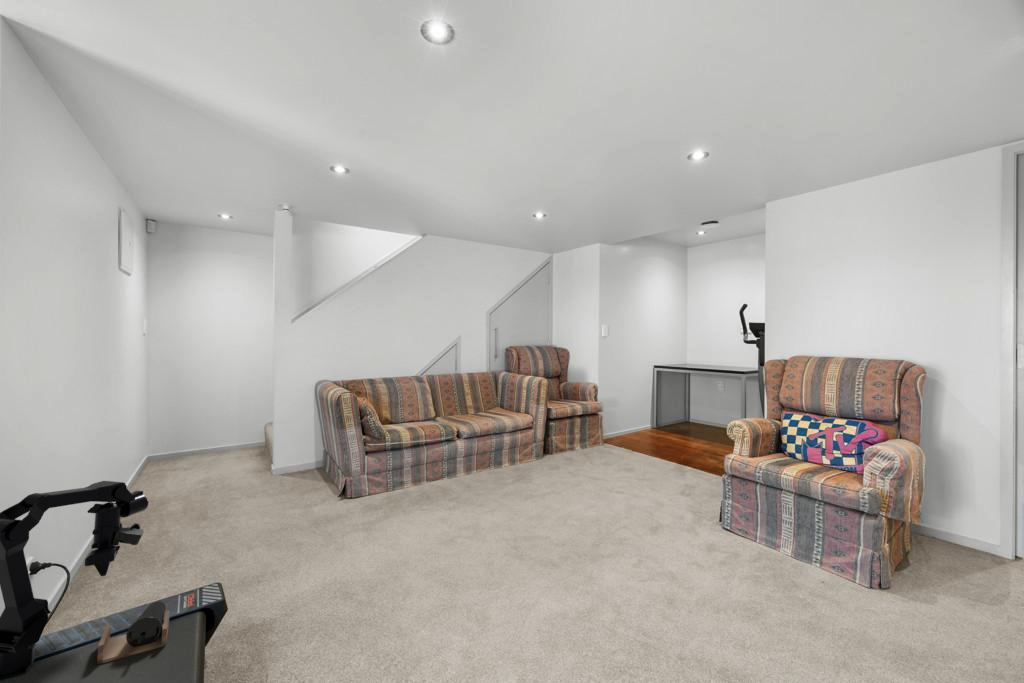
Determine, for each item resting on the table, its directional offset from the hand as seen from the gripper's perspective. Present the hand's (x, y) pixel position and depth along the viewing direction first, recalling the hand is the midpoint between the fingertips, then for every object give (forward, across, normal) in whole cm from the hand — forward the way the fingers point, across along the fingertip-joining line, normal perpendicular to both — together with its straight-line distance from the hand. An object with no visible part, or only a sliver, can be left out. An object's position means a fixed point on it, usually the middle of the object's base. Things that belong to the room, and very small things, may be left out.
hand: (103, 575), depth 130 cm
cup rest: (+13, -19, -10) cm, 25 cm away
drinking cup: (+10, -8, -14) cm, 19 cm away
